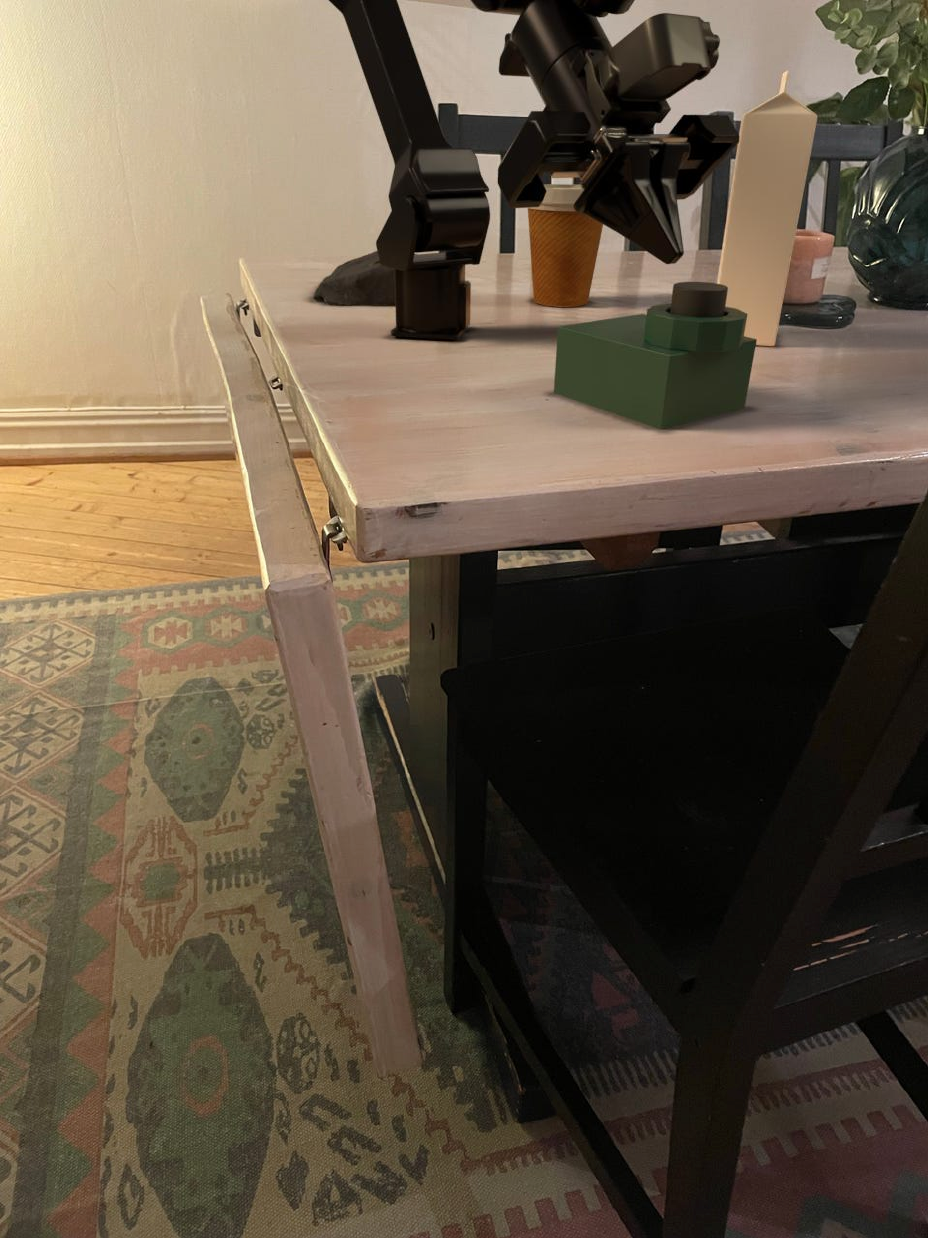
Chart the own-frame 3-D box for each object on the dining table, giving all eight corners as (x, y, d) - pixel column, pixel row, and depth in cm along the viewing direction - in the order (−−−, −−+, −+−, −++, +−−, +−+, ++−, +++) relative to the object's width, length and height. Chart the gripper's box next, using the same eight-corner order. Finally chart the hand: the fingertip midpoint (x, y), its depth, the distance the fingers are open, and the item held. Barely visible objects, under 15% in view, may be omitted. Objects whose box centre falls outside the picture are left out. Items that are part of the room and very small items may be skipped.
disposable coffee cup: (615, 300, 101) (625, 186, 95) (579, 312, 94) (588, 190, 88) (543, 292, 105) (549, 182, 99) (504, 303, 98) (508, 186, 92)
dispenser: (553, 393, 66) (559, 297, 63) (635, 376, 71) (645, 286, 67) (674, 435, 58) (690, 327, 54) (758, 412, 62) (777, 312, 59)
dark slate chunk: (444, 275, 116) (444, 237, 113) (446, 306, 97) (446, 260, 94) (330, 274, 115) (327, 236, 113) (309, 305, 96) (306, 259, 94)
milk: (709, 343, 82) (748, 70, 71) (709, 330, 87) (746, 73, 76) (776, 347, 81) (826, 69, 70) (772, 333, 86) (818, 72, 75)
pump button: (658, 315, 59) (662, 284, 58) (693, 310, 61) (697, 279, 60) (699, 324, 57) (704, 292, 56) (734, 318, 59) (739, 287, 58)
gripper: (533, -53, 49) (654, 172, 47) (740, -21, 59) (848, 166, 57) (452, 108, 59) (550, 301, 57) (642, 112, 69) (732, 278, 66)
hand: (675, 259), depth 59 cm, fingers closed
